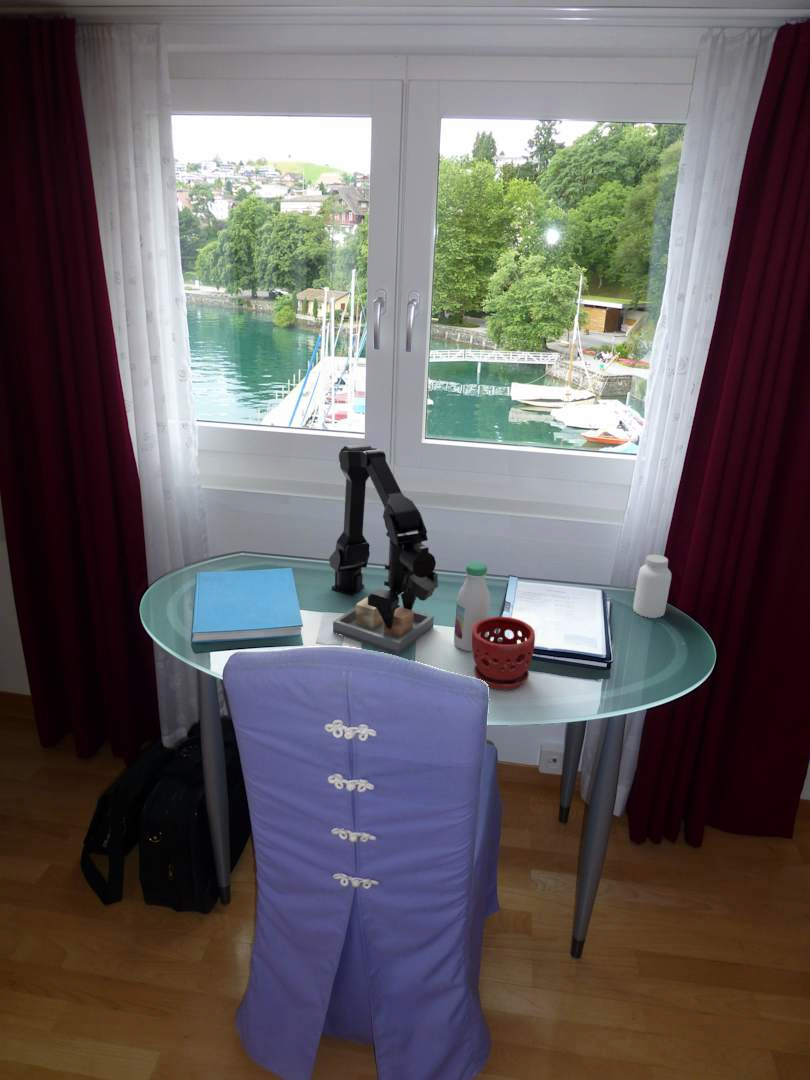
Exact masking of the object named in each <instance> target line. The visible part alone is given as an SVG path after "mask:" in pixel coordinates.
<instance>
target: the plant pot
mask: <svg viewBox="0 0 810 1080" xmlns="http://www.w3.org/2000/svg"><path fill="white" fill-rule="evenodd" d="M496 629H499V632H495V630H496ZM507 630H508V631H510V632H512V634H513V636H512V638H508V637H507V636H506V634H505V633H506V631H507ZM480 632H481V634H480V636H479V633H480ZM486 632H488V636H487V637H485V633H486ZM518 632H520V633H521V636H520V635H519V633H518ZM491 638H493V640H491ZM499 639H502V640H501V641H499ZM518 641H520V642H519V643H518ZM535 642H536V634H535V630H534V628H533V627H532V626H531V625H530V624H529V623H527V622H525V621H523V620H520V619H518V618H513V617H509V616H493V617H489V618H487V619H484V620H481V621H479V622H477V623H476V624H475V625H474V627H473V630H472V650H473V652H472V656H473V660H474V662H475V667H474V675H475V676H476V679H478V678H479V679H481V680H483V681H485V682H486V683H487V684H488V685H489V687H488V688H490V689H491V688H492V689H495V688H496V690H502V689H507V690H513V689H517V688H519V687H521V686H523V685H524V684H525V683H526V682H527V681H528V679H529V677H530V673H529V669H528V668H529V667H530V664H531V662H532V660H533V659H532V658H533V654H534V650H535V644H536V643H535Z"/></svg>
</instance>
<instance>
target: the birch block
mask: <svg viewBox="0 0 810 1080" xmlns="http://www.w3.org/2000/svg"><path fill="white" fill-rule="evenodd" d="M355 607H356V619H355V623H357V624H360V625H363V626H366V627H369V628H372V629H373V628H375V627H376V626H378V625H379V624H380V623H382V622H383V619H382V617H381V615H380V613H379V611H378V610H377V608H376V607H373V606H370V605H368V596H366V597H365V598H363V599H362V600H360V601H359V602H357V603H355Z"/></svg>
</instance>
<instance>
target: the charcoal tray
mask: <svg viewBox="0 0 810 1080" xmlns="http://www.w3.org/2000/svg"><path fill="white" fill-rule="evenodd" d="M400 607H402V606H401V605H400ZM412 611H414V619H413V629H412V630H410V631H409V632H408V633H406V634H405V635H404V636H402V637H401V638H399V637H396V636H393V635H390V634H387V633H384V621H383V622H382V623H380V624H379V625H378V626H376V627H375V628H373V629H372V628H369V627H366V626H363V625H360V624H357V623H355V619H356V606H355V607H352V608H351V609H350V610H348V611H347V612H344V614H342V615H341V616H339V617H338V618H336V619H334V620H333V621H332V633H333V632H334V633H333V634H335V633H337V634H336V635H338V634H341V635H343V636H342V637H344V636H345V638H347V639H350V640H353V641H356V642H359V643H362V644H365V645H368V646H370V647H374V648H375V649H379V650H382V651H384V652H385V651H386V652H387V653H391V654H394V655H396V656H399V655H400V654H402V653H403V652H404V651H405V650H407V649H408V648H409V647H410V646H412V645H413V644H414V643H415V642H417V641H418V640H419V639H421V638H422V637H423V636H425V635H426V634H427V633H428V632H430V631H431V630H432V629H433V628H434V622H435V621H434V619H435V618H434V615H429V614H426V613H423V612H420V611H417V610H414V609H412ZM341 635H340V636H341Z"/></svg>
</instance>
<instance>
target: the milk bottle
mask: <svg viewBox="0 0 810 1080" xmlns="http://www.w3.org/2000/svg"><path fill="white" fill-rule="evenodd" d="M487 569H488V566H487V565H486V564H485V563H482V562H480V561H472V562H468V563H467V564H466V568H465V575H466V578H465V580H464V583H463V584H462V585H461V588H460V590H459V592H458V593H457V600H456V605H455V606H456V608H455V618H454V619H455V620H454V621H455V622H454V633H453V643H454V645H455V647H456V648H458V649H459V650H461V651H465V652H472V653H473V650H472V630H473V627H474V625H475V624H476V623H477V622H479V621H481V620H484V619H487V618H491V617H490V615H491V593H490V591H489V587H488V586H487V583H486V576H487V573H488V572H487V571H488V570H487ZM480 634H481V632H480V633H479V636H480ZM488 635H489V632H486V633H485V637H487V636H488Z"/></svg>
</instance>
